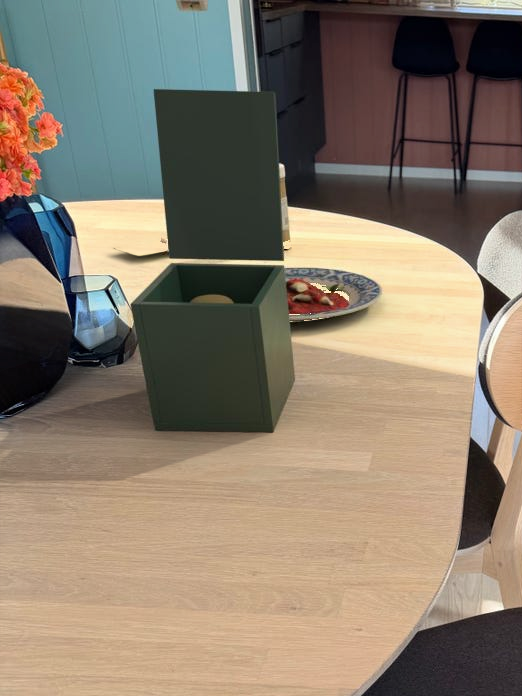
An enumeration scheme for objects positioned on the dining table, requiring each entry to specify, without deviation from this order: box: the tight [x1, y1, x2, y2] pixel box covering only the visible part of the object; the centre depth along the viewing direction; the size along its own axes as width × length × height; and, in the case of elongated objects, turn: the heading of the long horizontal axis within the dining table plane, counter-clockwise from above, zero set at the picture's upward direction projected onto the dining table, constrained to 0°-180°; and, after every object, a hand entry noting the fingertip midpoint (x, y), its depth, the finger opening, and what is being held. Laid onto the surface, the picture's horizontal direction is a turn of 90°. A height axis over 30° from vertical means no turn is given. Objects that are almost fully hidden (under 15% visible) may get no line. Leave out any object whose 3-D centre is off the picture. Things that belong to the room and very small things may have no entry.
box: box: [129, 262, 296, 433], centre depth 103 cm, size 16×13×13 cm
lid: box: [153, 88, 285, 262], centre depth 102 cm, size 17×13×1 cm
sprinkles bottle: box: [279, 162, 291, 242], centre depth 161 cm, size 5×5×13 cm
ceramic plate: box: [284, 267, 383, 321], centre depth 137 cm, size 26×26×3 cm
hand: (191, 6), depth 97 cm, fingers closed
